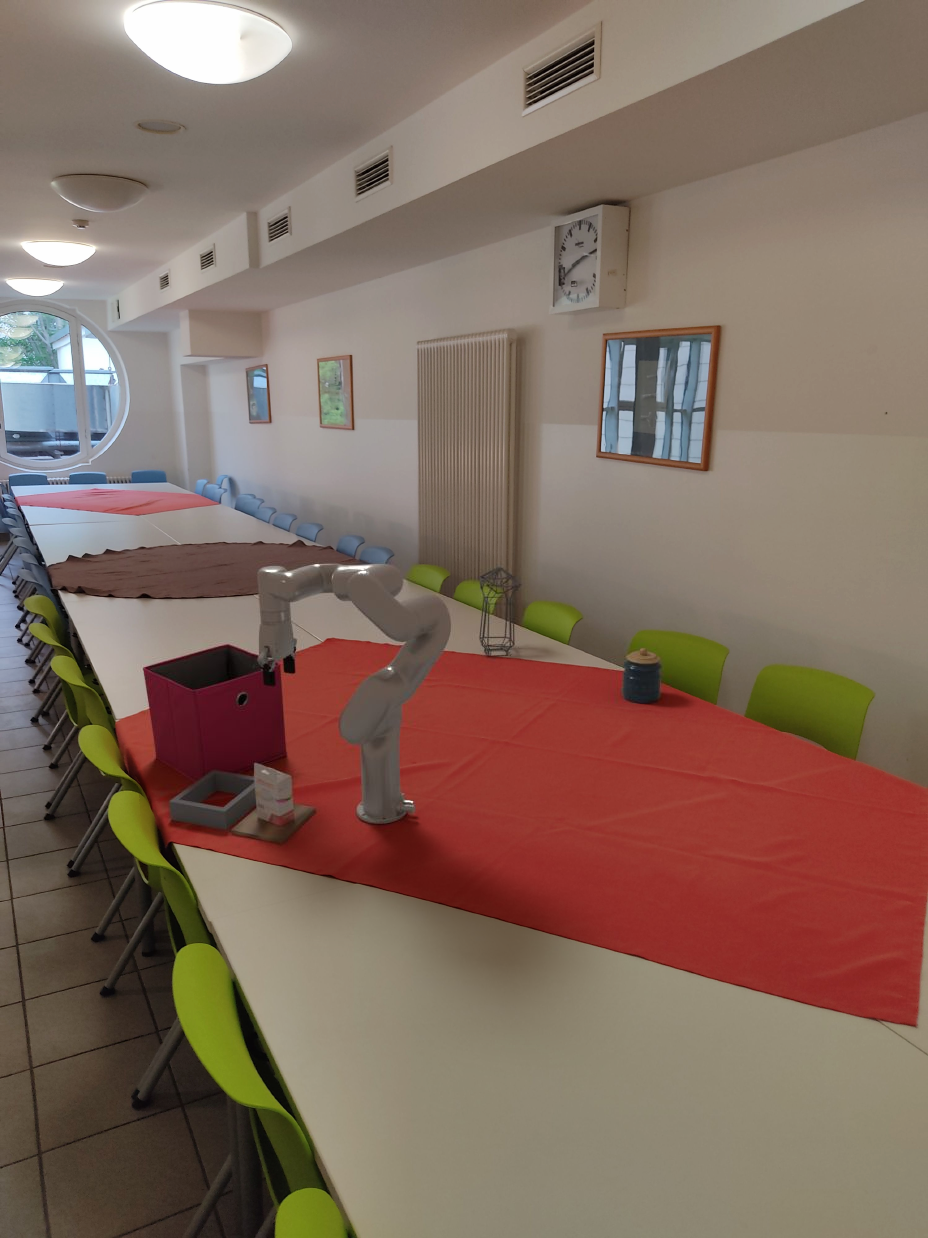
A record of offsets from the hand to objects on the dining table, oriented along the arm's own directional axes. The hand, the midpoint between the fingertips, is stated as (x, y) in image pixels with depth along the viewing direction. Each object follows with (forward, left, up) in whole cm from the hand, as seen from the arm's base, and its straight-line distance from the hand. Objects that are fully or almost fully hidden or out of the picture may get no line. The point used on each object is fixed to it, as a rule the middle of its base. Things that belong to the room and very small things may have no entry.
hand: (279, 679), depth 212 cm
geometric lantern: (-22, -126, -31) cm, 131 cm away
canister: (-82, -95, -31) cm, 129 cm away
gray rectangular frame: (+10, +16, -30) cm, 36 cm away
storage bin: (+27, -9, -31) cm, 42 cm away
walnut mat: (-7, +18, -30) cm, 36 cm away
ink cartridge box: (-7, +18, -30) cm, 35 cm away
